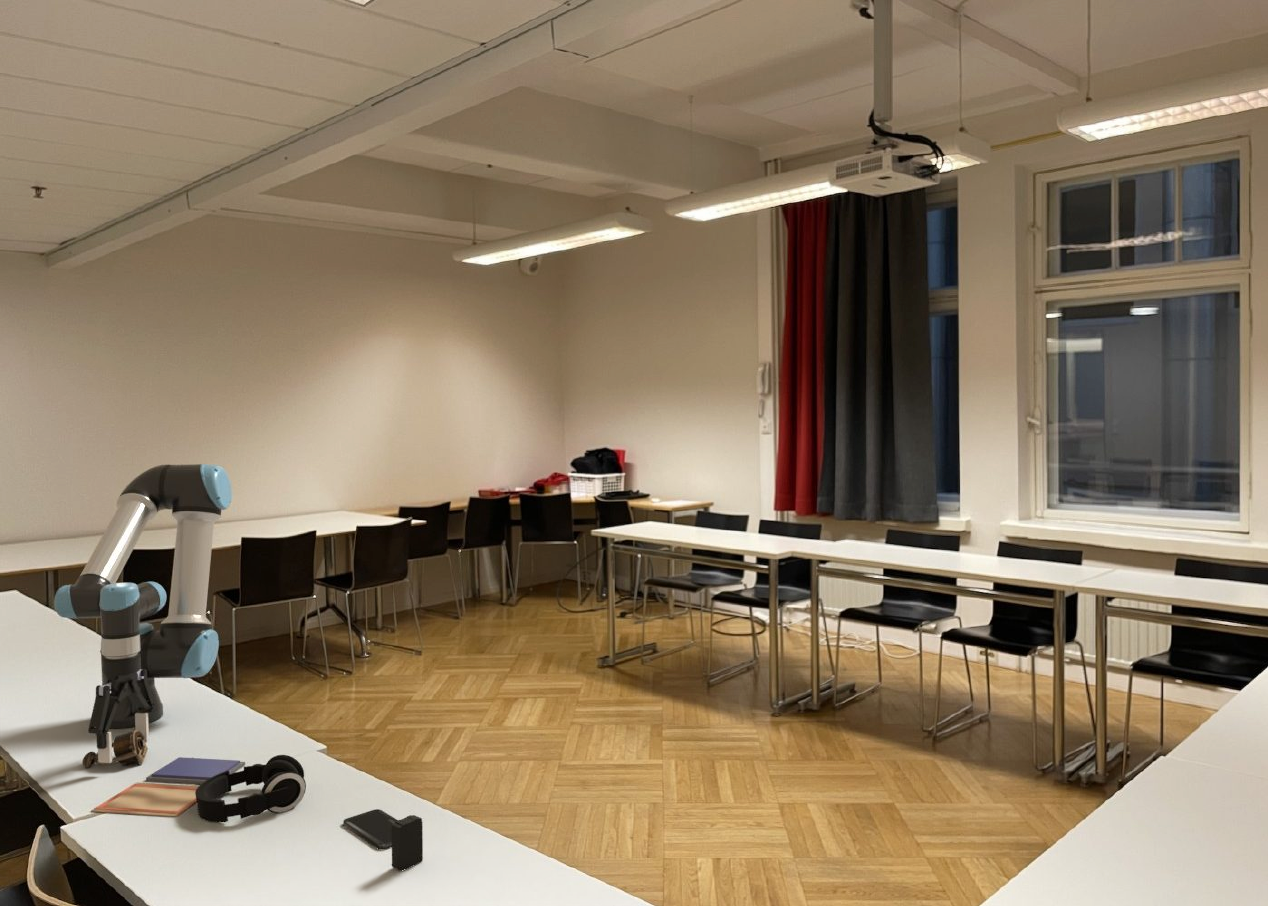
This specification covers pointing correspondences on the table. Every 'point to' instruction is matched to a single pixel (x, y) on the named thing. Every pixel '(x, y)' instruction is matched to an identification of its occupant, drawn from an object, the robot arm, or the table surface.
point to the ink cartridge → (407, 842)
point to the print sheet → (151, 800)
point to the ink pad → (194, 770)
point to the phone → (372, 827)
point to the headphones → (276, 795)
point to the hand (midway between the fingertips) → (124, 751)
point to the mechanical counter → (122, 750)
